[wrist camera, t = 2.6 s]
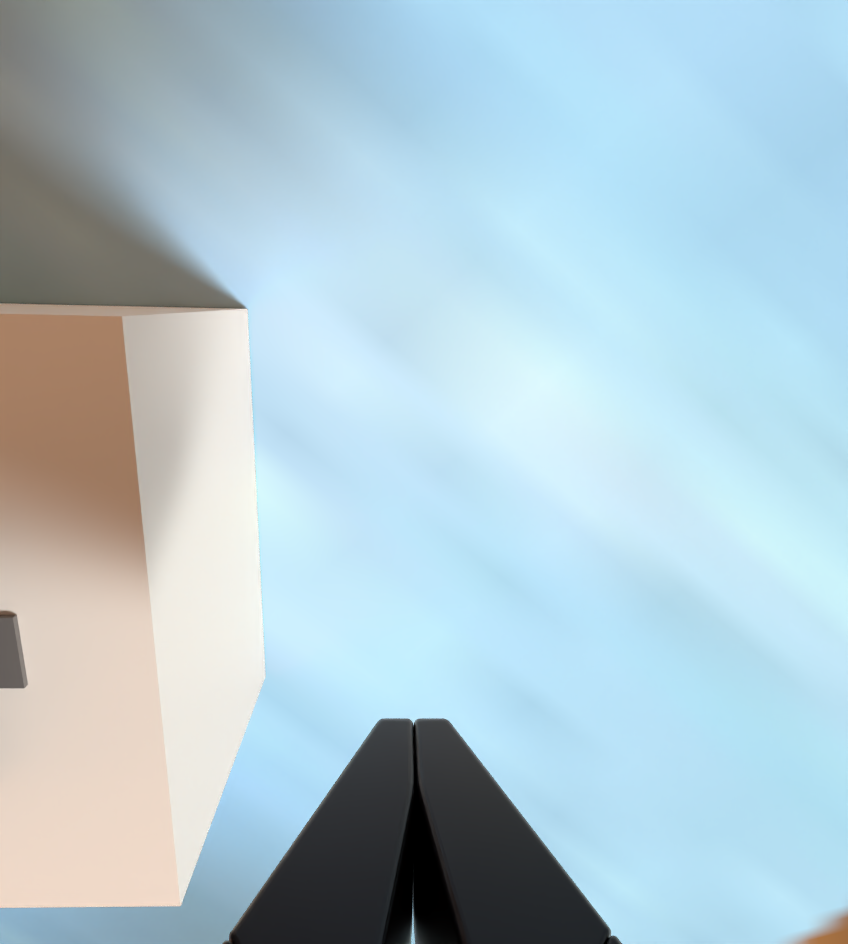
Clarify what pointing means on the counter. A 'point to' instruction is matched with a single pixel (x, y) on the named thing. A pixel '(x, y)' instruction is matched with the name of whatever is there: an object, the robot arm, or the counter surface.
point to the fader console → (122, 595)
